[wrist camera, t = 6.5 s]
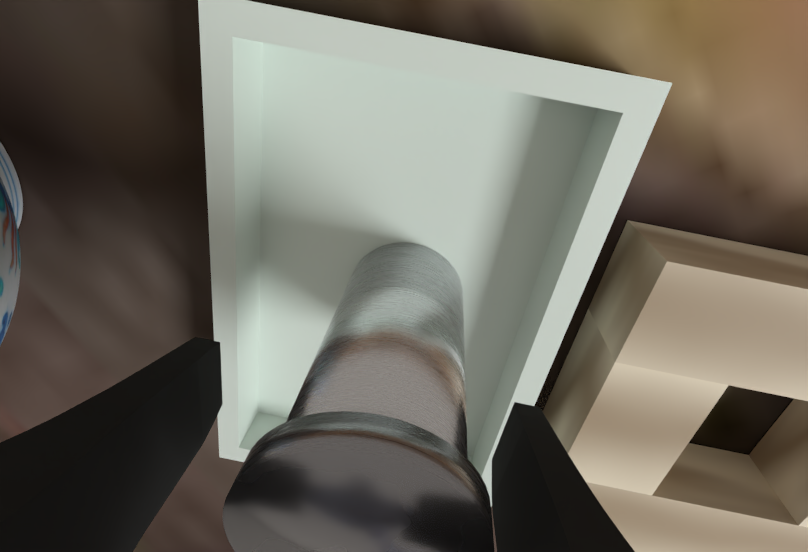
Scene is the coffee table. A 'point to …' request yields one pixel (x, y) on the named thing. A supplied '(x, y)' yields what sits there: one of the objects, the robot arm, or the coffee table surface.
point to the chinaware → (9, 239)
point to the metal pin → (373, 427)
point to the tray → (401, 195)
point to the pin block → (690, 392)
